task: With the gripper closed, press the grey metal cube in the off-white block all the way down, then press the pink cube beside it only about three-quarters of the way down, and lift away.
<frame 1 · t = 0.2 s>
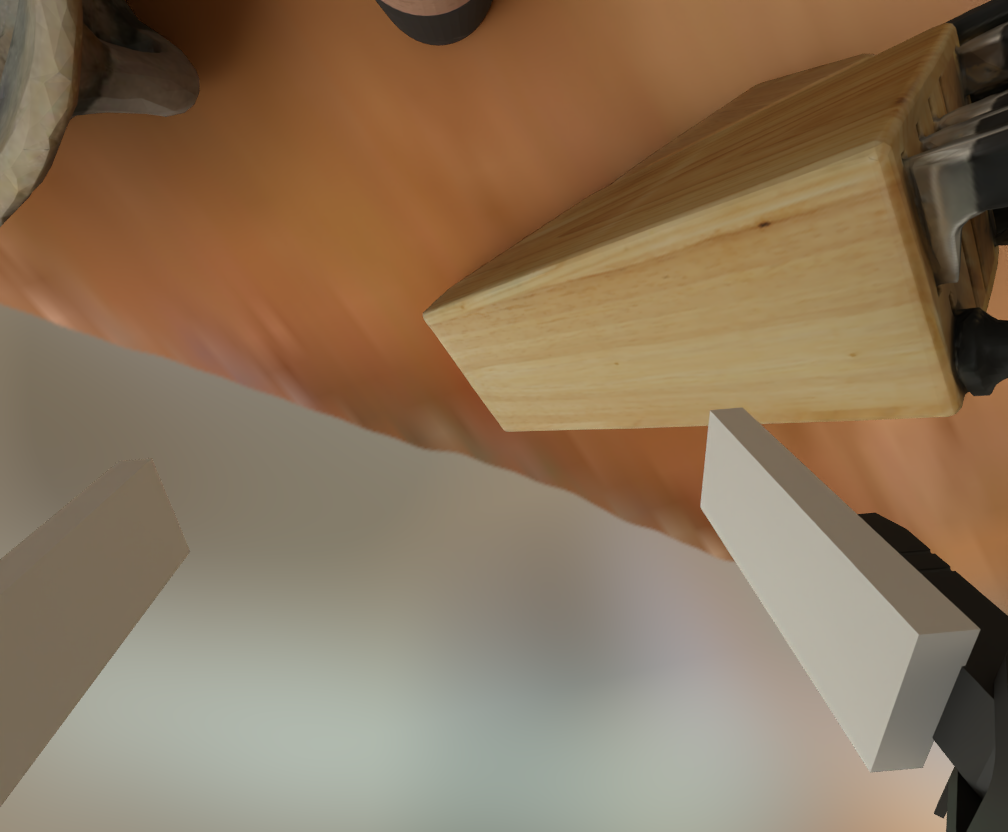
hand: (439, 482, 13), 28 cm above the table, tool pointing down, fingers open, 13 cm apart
knife block: (674, 233, 38), on the table
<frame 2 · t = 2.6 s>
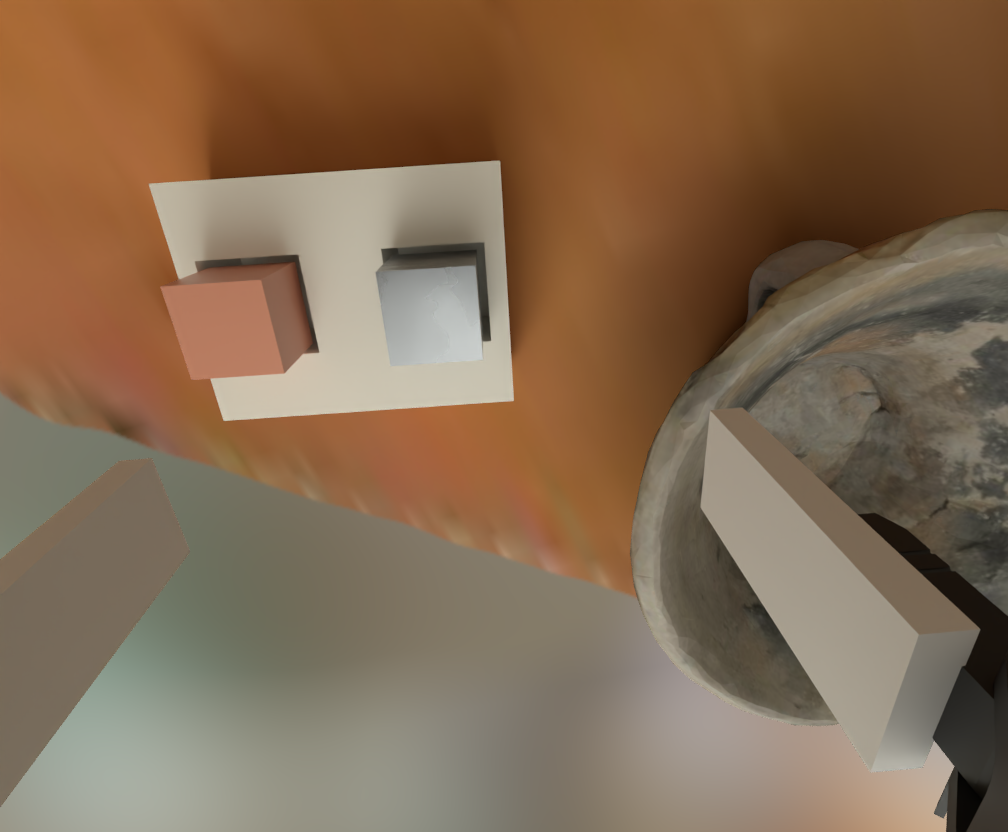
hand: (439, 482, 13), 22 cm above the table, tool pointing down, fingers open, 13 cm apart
pink cube: (245, 318, 25), point 8 cm above the table, slide at 0.0 cm
grey metal cube: (435, 305, 25), point 8 cm above the table, slide at 0.0 cm
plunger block: (371, 279, 32), on the table
bowl: (771, 399, 37), on the table
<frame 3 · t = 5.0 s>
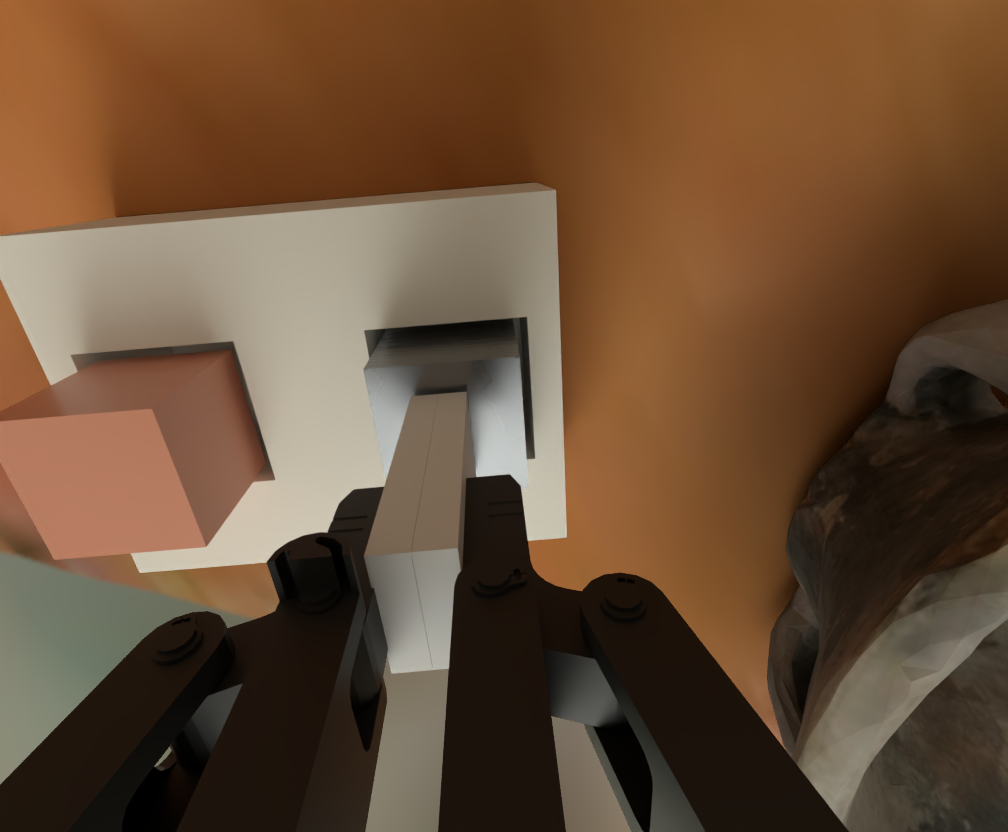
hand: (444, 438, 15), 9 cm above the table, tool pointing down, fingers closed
pink cube: (148, 447, 16), point 8 cm above the table, slide at 0.0 cm
grey metal cube: (454, 400, 17), point 6 cm above the table, slide at 1.6 cm, touching gripper
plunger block: (356, 351, 23), on the table
bowl: (903, 493, 27), on the table
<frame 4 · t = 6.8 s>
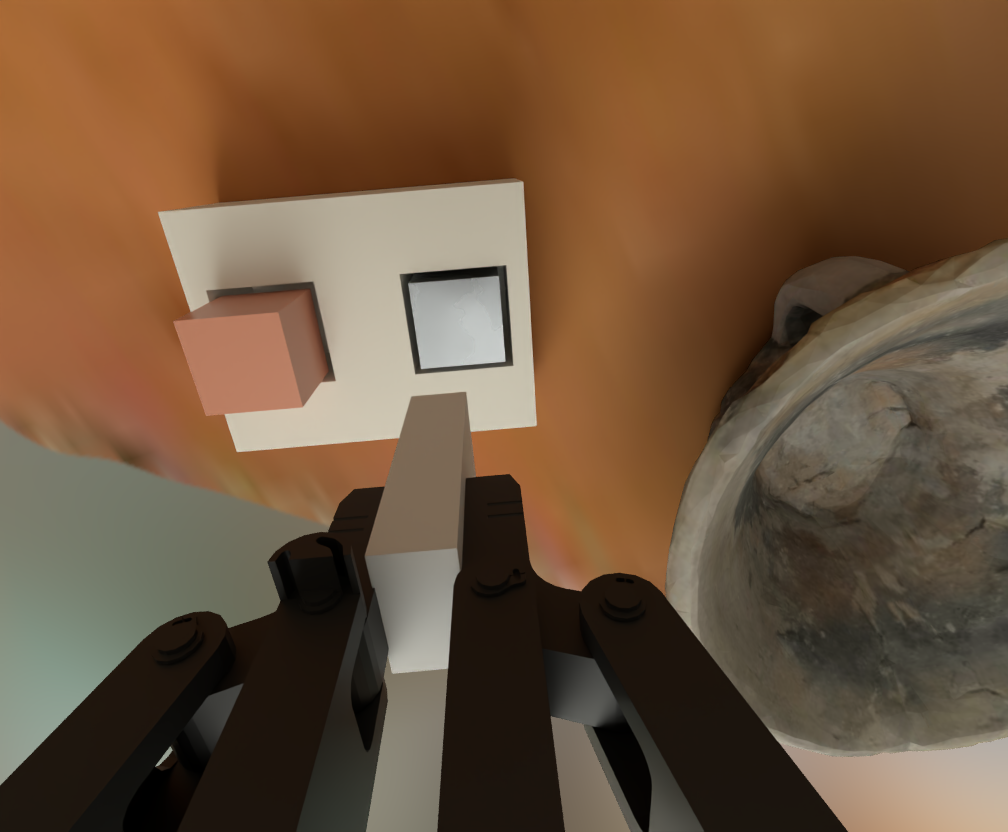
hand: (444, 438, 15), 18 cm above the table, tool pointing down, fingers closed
pink cube: (260, 349, 24), point 8 cm above the table, slide at 0.0 cm
grey metal cube: (460, 312, 28), point 4 cm above the table, slide at 3.6 cm
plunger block: (385, 301, 31), on the table
bowl: (796, 414, 36), on the table
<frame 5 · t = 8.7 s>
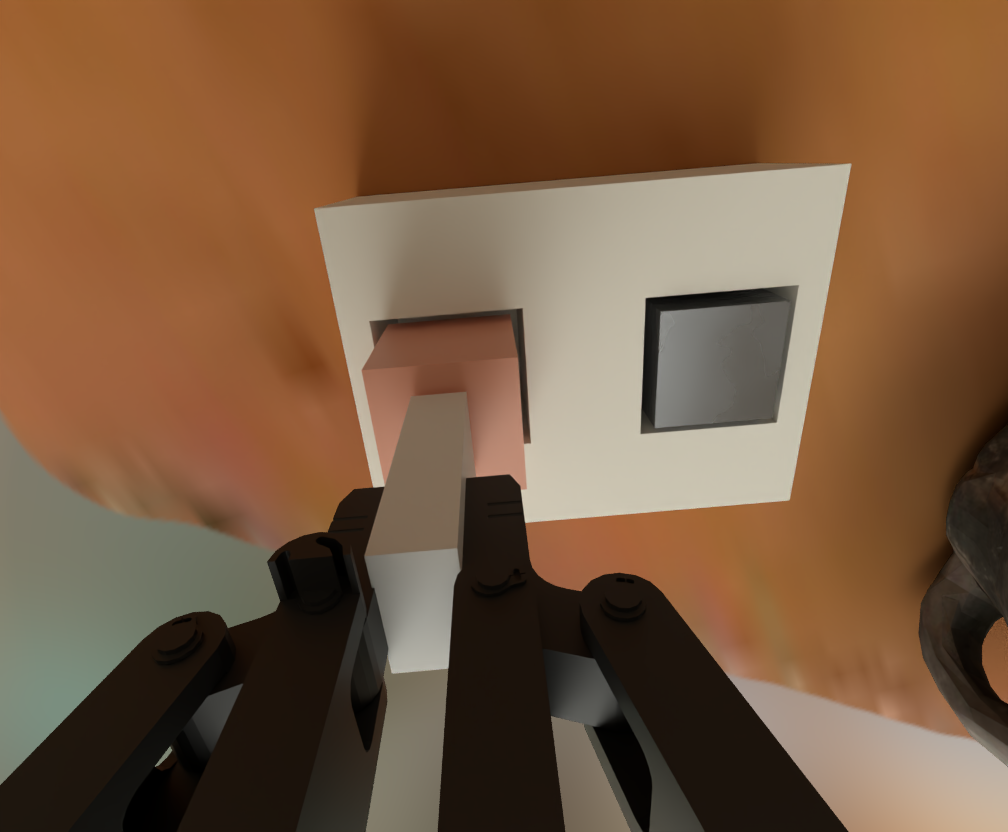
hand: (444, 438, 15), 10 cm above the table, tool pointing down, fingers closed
pink cube: (452, 401, 17), point 7 cm above the table, slide at 0.4 cm, touching gripper
grey metal cube: (695, 347, 20), point 4 cm above the table, slide at 3.6 cm
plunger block: (561, 326, 24), on the table
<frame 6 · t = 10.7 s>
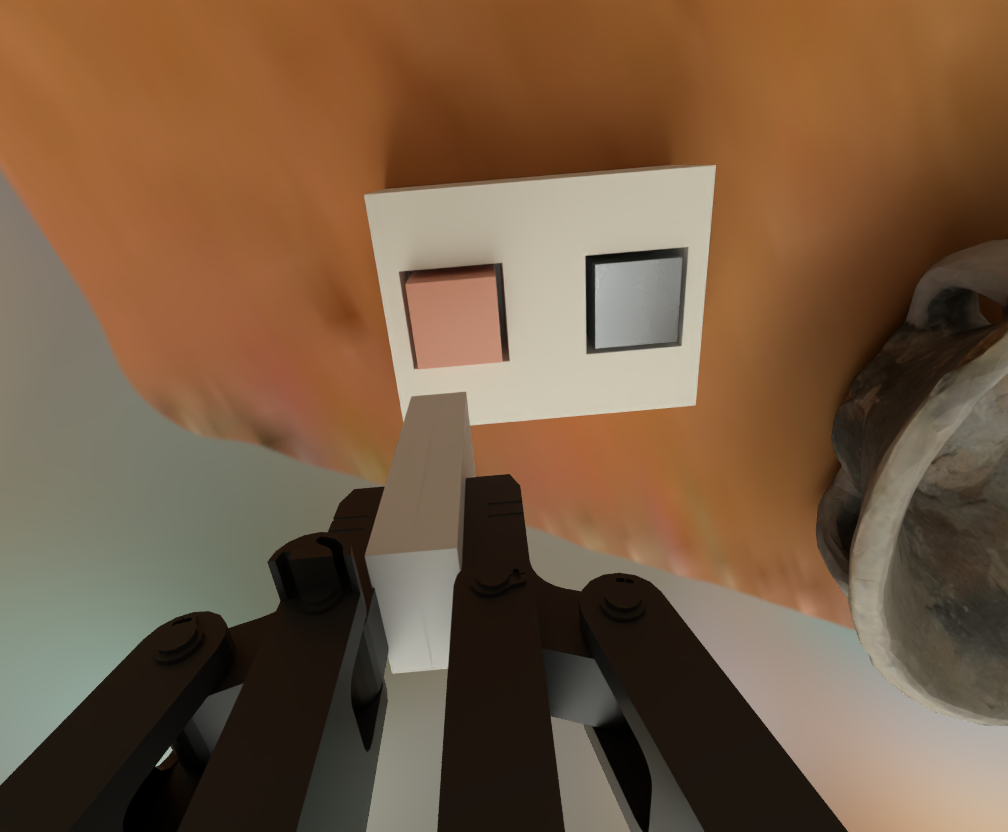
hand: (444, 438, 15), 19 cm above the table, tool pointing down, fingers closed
pink cube: (457, 312, 28), point 5 cm above the table, slide at 2.8 cm
grey metal cube: (626, 294, 29), point 4 cm above the table, slide at 3.6 cm
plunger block: (534, 285, 32), on the table
bowl: (916, 398, 37), on the table
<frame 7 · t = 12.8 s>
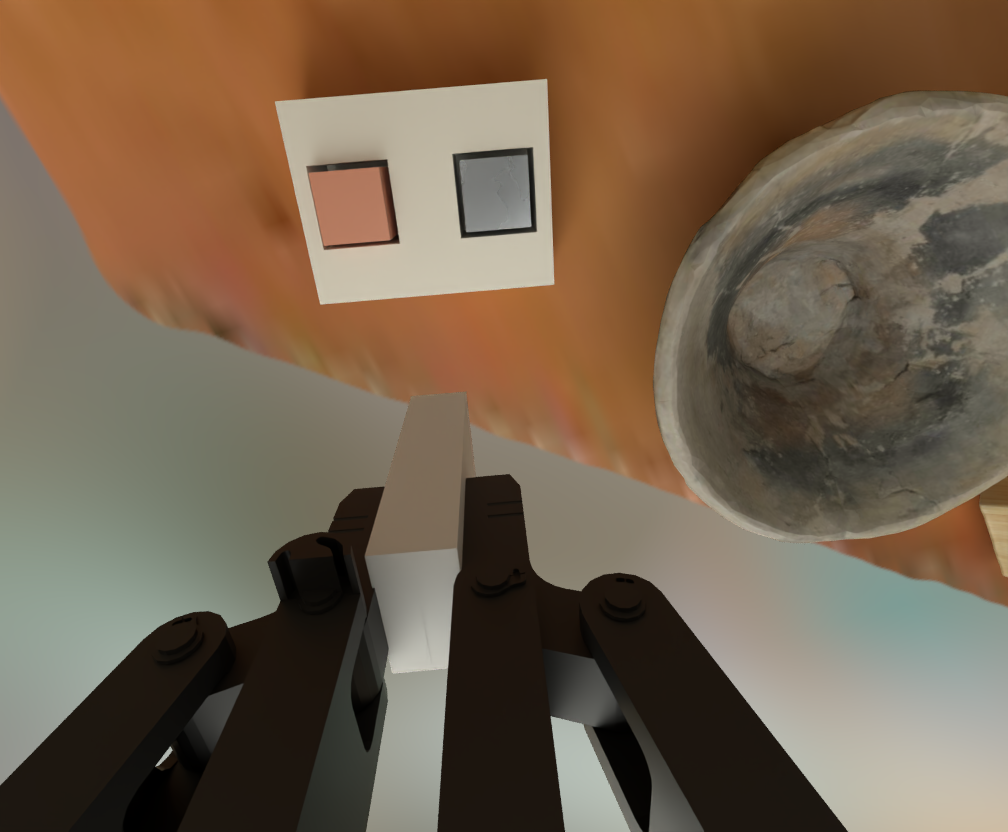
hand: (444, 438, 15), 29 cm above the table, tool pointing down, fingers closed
pink cube: (357, 204, 35), point 5 cm above the table, slide at 2.8 cm
grey metal cube: (495, 192, 36), point 4 cm above the table, slide at 3.6 cm
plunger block: (432, 194, 39), on the table
bowl: (764, 299, 44), on the table
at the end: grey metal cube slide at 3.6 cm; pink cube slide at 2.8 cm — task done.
